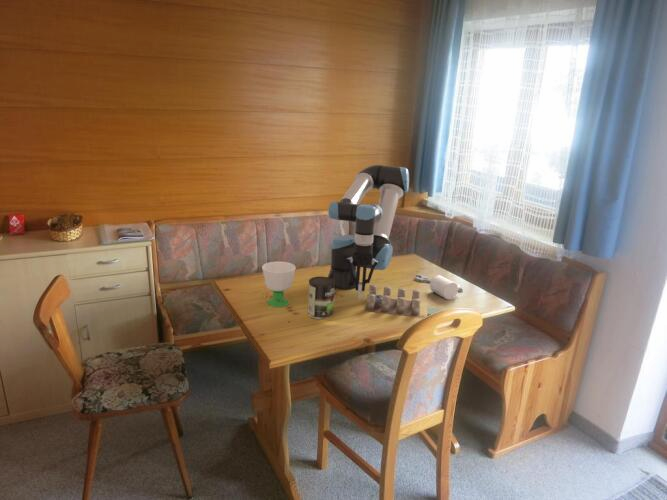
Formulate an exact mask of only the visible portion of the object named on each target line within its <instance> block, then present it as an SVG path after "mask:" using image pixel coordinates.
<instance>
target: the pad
mask: <svg viewBox="0 0 667 500" xmlns="http://www.w3.org/2000/svg"><path fill="white" fill-rule="evenodd" d="M426 310H427V311H426V313H427V317H429V316H428V315H431V314H434V313H436V312H439V311H441V308H440V307H432V306H431V307H430V306H427V307H426ZM441 312H442V311H441Z"/></svg>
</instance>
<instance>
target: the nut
mask: <svg viewBox="0 0 667 500" xmlns="http://www.w3.org/2000/svg"><path fill="white" fill-rule="evenodd" d="M382 296H383V294H382V295H381V294H376V295H375V302H374V306H376V307H382Z"/></svg>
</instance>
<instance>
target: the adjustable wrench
mask: <svg viewBox="0 0 667 500" xmlns="http://www.w3.org/2000/svg"><path fill="white" fill-rule="evenodd" d="M432 279H433V278H430V277H427V276H426V275H424V274H415V276H414V280H415V281H416V282H420V283H429V284H430V282H431V280H432ZM463 291H464V289H463V288H462V287H460V289H459V290H458V291H457V293H463Z"/></svg>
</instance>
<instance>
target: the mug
mask: <svg viewBox="0 0 667 500" xmlns="http://www.w3.org/2000/svg"><path fill="white" fill-rule="evenodd" d="M431 279H432V280H431V282H430V283H429V289H430V291H431V292H433V293H435V294H436V295H438V296H440V297H441V298H444V300H453V299H454V298H455V297H456V296H457V294H458V292H457V291H458V290H459V289H460V288H461V285H460V284H459V283H456V282H454V281H451V280H450V279H448V278H446V277H444V276H442V275H440V274H439V275H435V276H433V277H432V278H431Z"/></svg>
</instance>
